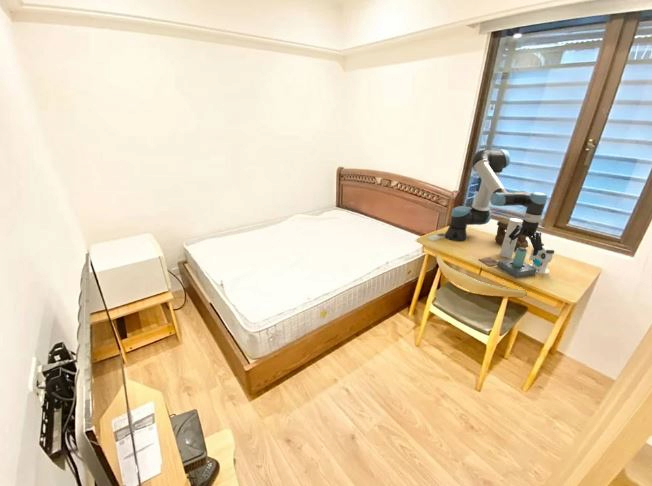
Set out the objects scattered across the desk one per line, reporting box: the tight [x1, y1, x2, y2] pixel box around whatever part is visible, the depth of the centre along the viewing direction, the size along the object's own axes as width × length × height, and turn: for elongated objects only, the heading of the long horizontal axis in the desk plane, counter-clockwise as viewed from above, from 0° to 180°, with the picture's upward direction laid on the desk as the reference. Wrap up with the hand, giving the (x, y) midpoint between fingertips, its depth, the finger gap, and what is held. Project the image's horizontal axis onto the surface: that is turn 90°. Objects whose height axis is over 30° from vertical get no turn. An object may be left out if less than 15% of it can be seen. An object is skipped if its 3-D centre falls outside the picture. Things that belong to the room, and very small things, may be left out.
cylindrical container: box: [499, 217, 524, 259], centre depth 190 cm, size 7×7×25 cm
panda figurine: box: [528, 243, 555, 275], centre depth 175 cm, size 12×11×15 cm
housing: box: [496, 258, 537, 279], centre depth 176 cm, size 14×14×4 cm
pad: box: [478, 257, 498, 267], centre depth 186 cm, size 9×9×1 cm
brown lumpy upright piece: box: [494, 218, 529, 252], centre depth 205 cm, size 20×11×17 cm, turn 33°
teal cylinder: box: [512, 247, 528, 268], centre depth 173 cm, size 5×5×15 cm
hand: (520, 254), depth 172 cm, fingers open, 13 cm apart
